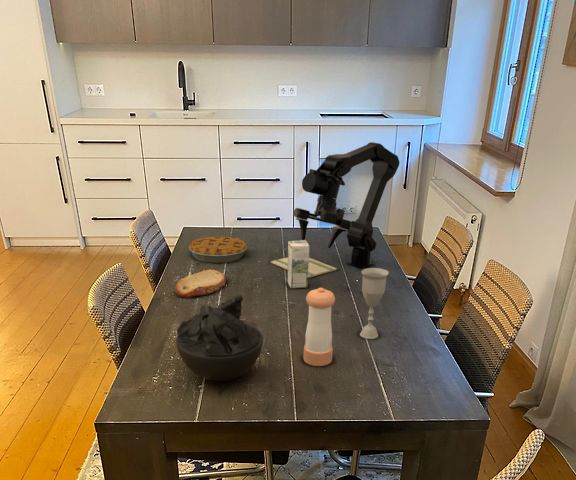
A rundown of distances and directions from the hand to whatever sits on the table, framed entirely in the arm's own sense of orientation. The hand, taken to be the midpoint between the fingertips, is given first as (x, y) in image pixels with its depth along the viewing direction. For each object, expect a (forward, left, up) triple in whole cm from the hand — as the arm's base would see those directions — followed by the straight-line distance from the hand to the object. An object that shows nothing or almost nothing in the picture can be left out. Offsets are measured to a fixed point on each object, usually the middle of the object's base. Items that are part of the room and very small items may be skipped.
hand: (315, 245), depth 194 cm
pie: (+12, -41, -12) cm, 44 cm away
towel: (-5, -12, -12) cm, 17 cm away
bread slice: (+35, -17, -12) cm, 40 cm away
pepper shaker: (+39, +44, -12) cm, 60 cm away
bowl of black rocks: (+63, +36, -12) cm, 73 cm away
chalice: (+18, +42, -12) cm, 47 cm away
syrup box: (+9, +1, -12) cm, 15 cm away
